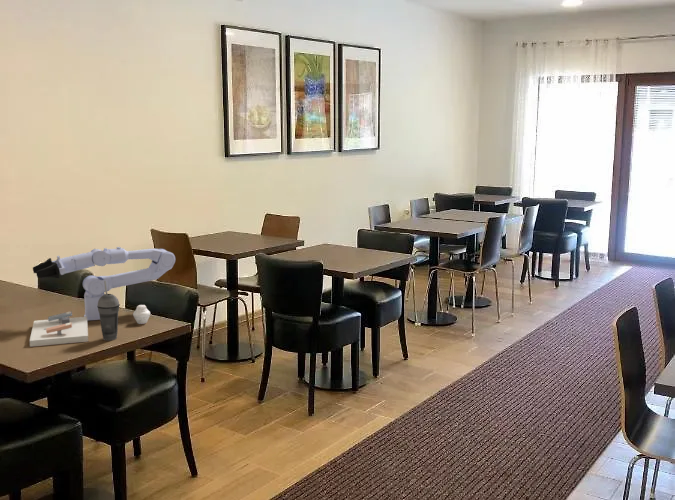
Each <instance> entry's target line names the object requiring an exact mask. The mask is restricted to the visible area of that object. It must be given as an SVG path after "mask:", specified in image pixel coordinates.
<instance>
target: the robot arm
mask: <svg viewBox="0 0 675 500" xmlns="http://www.w3.org/2000/svg"><path fill="white" fill-rule="evenodd" d="M144 259H145V260H146V259H148V260H151V263H150V264H149V265H148V267H147V268H143V269H137V270H131V271H127V272H126V271H125V272H121V273H116V274H111V275H99V276H97V275H92V274H91V275H88V276H86V277H84V278H83V280H82V287H83V289H84V290H85V292H84V295H83V297H84V315H83V317H87V322H89V321H98V320H99V321H100V315H99V311H98V307H97V306H98V301H99V299H100V297H101V296H103V295H105V294H106V292H105V284H104V281H106V287H107V292H110V291H111V290H113V289H116V288H121V287H126V286H130V285H135V284H136V285H137V284H140V283H146V282H151V281H156V280H158V279H160V278H161V277H162V276H163V275H164V274H166V273H167V272H168V271H169V270H172V268H173V267H174V265H175V263H176V256H175V254H174V253H173V252H171V251H168V250H166V249H165V248H145V249H144V248H142V249H134V250H126V249H125V248H124V247H120V246H116V248H107V247H105V248H104V247H103V250H102V249H99V248H94V249H92V250H90V251H88V252H82V253H79V254H74V255H70V256H65V257H62V258H61V257H60V255H57V256H56V260H52V258H51V257H49V258H47V260H45V261H44V262H42V263H40V264H37V265H35V266H33V267H32V271H33V274H36V277H37V278H39V279H40V278H41V279H42V278H43V279H44V278H54V279H60V276H63V275H65V274H69V273H72V272H77V271H80V270H85V269H88V268H91V267H95V266H97V267H104V266H106V265H116V264H125V263H126V262H128V260H144Z"/></svg>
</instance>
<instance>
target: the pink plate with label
mask: <svg viewBox="0 0 675 500" xmlns="http://www.w3.org/2000/svg"><path fill="white" fill-rule="evenodd" d="M71 327H72V323H71V322H70V323H66V324H62V325H58V326H54V327H50V328H46V332H47V333H51V332H55V331H59V330H63V329H67V328H71Z"/></svg>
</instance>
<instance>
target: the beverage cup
mask: <svg viewBox="0 0 675 500" xmlns="http://www.w3.org/2000/svg"><path fill="white" fill-rule="evenodd" d="M104 284H105V292H104V294H105V295H103V296H101V297H100V299H99V301H98V306H97V307H98V311H99V315H100V320H99V321H100V328H101V335H102V340H103V341H106V342H107V341H109V342H110V341H115V340H117V338H118V329H119V328H118V325H119V311H120V301H119V298H117V296H115V295H114V294H113V293H112V294H111V293H108V291H107V287H106V281H104Z"/></svg>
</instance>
